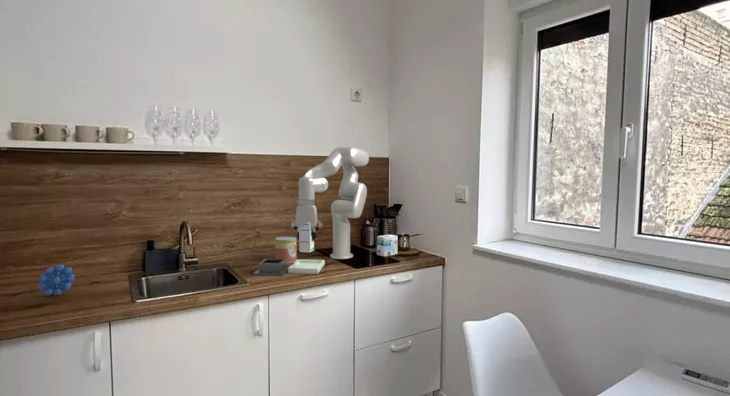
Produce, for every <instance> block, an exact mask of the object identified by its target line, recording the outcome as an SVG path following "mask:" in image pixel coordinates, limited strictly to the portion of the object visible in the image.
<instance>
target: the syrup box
mask: <svg viewBox="0 0 730 396" xmlns="http://www.w3.org/2000/svg"><path fill="white" fill-rule="evenodd" d="M312 233H313V229H312V227H310V223H309V222H307V223H306V222H305V224H304V226H301V227H299V240H298V242H299V245H298V246H299V247H298V248H299V252H301V253H311V252H313V251H315V240H314V241H313V240H312Z"/></svg>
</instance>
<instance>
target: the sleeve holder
mask: <svg viewBox="0 0 730 396" xmlns="http://www.w3.org/2000/svg"><path fill="white" fill-rule="evenodd" d="M290 266H291V265H289V266H287V263H286V259H275V258H264V259H263V260H262V261H261V262H259V263H258V269H257V270H255V271H254V272H253V273H252V275H253V276H263V277H265V276H268V277H269V276H270V277H271V276H272V277H274V276H275V277H283V276H285V275H286V274H288V268H289V267H290Z"/></svg>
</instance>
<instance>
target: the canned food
mask: <svg viewBox="0 0 730 396" xmlns="http://www.w3.org/2000/svg"><path fill="white" fill-rule="evenodd" d="M297 239H298V238H297V237H296V236H277V237H275V238H274V259H286V264H291V263H292V264H293V263H294V262H295V261H296V260H297V259H298V257H297Z"/></svg>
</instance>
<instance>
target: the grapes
mask: <svg viewBox="0 0 730 396" xmlns="http://www.w3.org/2000/svg"><path fill="white" fill-rule="evenodd" d="M75 279H76V276H75V275H74V273H73V269H72V267H68V266H67V267H65V265H64V264H57V265H56V266H55V267H54V266H51V267H48V268H46V270H45V274H44V273H43V274H41V275H40V276H39V278H38V281H39V282H40V284H39V285H38V289H39V291H44V295H45V296H51V295H54V296H60V295H62V294H63V293H64V291H68V290H70V289H72V288H71V287H72V282H73V281H74V280H75Z"/></svg>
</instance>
